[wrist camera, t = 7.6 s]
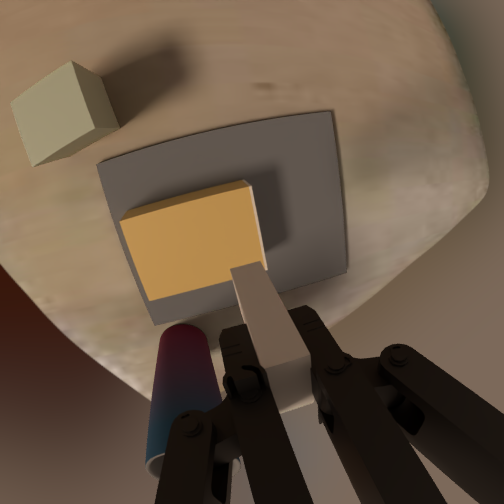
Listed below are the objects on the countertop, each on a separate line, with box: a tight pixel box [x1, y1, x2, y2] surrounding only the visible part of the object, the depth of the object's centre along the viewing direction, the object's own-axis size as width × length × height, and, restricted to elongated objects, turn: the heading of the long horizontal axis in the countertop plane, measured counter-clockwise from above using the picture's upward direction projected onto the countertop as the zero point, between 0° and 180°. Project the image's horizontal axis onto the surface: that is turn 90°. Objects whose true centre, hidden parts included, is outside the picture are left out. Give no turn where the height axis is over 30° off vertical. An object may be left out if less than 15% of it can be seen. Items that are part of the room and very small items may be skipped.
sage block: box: [11, 61, 120, 167], centre depth 16 cm, size 5×5×7 cm
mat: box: [96, 111, 347, 326], centre depth 26 cm, size 16×20×1 cm
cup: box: [145, 324, 241, 480], centre depth 23 cm, size 7×7×15 cm
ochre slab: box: [119, 180, 268, 301], centre depth 24 cm, size 7×3×10 cm
